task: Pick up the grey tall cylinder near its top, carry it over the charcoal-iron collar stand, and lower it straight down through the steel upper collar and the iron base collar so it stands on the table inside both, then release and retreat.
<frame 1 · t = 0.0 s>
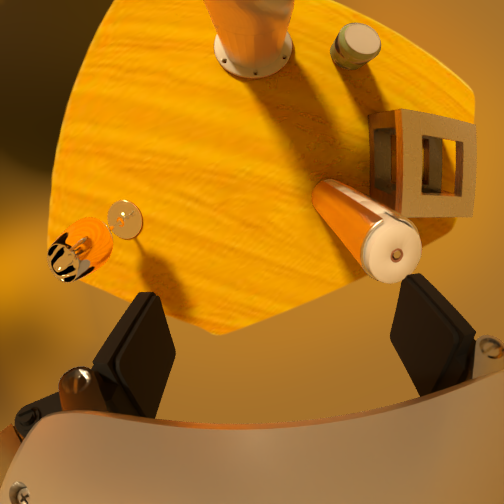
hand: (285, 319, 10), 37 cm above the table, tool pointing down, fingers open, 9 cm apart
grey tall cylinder: (329, 197, 45), on the table
collar stand: (405, 159, 41), on the table
wineglass: (125, 219, 47), on the table
beverage can: (342, 58, 35), on the table
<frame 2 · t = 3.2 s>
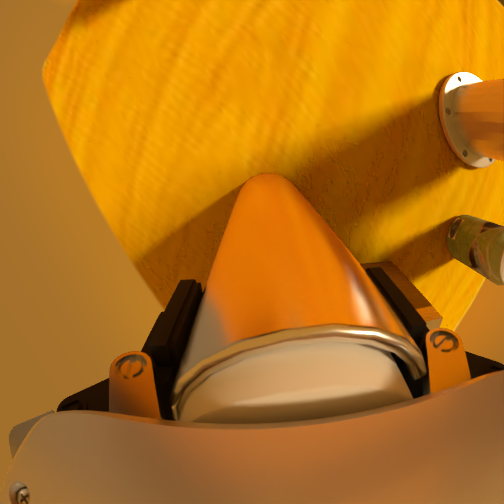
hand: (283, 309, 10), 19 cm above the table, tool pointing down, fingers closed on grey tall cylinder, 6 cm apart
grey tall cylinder: (268, 203, 28), on the table, touching gripper
collar stand: (329, 319, 33), on the table
beverage can: (456, 230, 28), on the table
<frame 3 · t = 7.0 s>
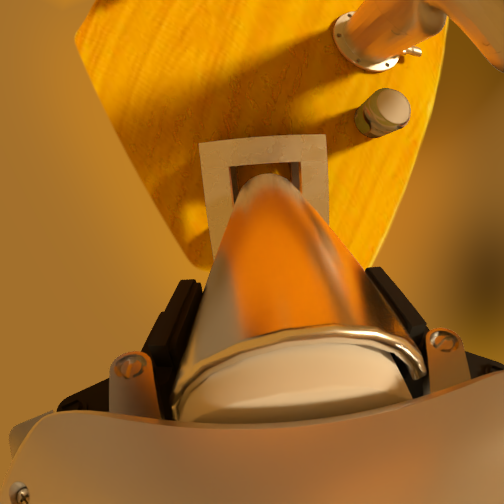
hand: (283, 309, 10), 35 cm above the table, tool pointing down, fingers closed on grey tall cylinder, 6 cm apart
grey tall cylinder: (268, 204, 28), point 17 cm above the table, touching gripper
collar stand: (264, 184, 43), on the table
beverage can: (366, 117, 39), on the table
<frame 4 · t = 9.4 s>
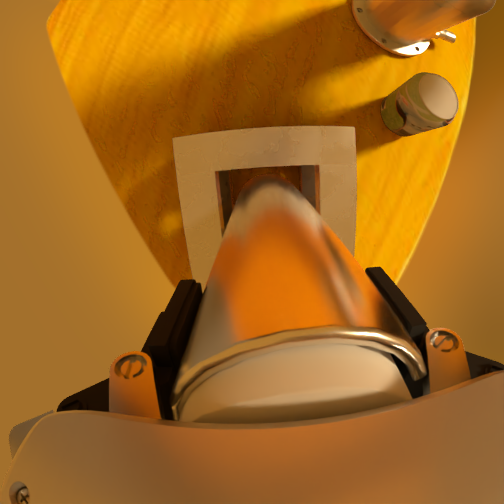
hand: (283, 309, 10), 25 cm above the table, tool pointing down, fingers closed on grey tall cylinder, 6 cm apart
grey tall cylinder: (268, 204, 28), point 6 cm above the table, touching gripper
collar stand: (266, 192, 34), on the table
beverage can: (393, 111, 29), on the table
when the fingers open (20 cm above the table, at t = 11.3 s): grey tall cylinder drops 1 cm, resting in collar stand.
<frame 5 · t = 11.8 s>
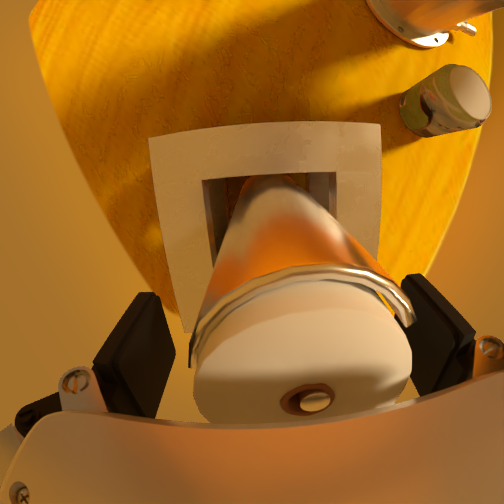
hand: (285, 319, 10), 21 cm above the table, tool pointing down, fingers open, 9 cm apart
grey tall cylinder: (270, 198, 29), resting in collar stand
collar stand: (267, 201, 29), on the table
beverage can: (412, 108, 24), on the table
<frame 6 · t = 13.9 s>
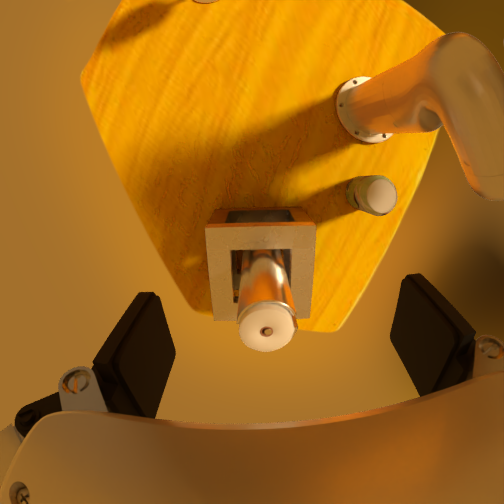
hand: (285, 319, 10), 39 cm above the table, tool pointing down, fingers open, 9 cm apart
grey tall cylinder: (261, 246, 50), resting in collar stand
collar stand: (259, 247, 50), on the table
beverage can: (356, 188, 46), on the table
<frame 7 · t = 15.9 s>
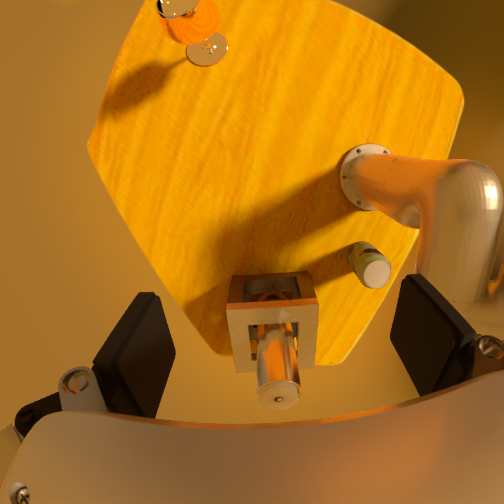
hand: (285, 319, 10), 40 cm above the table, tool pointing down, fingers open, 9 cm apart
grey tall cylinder: (272, 303, 57), resting in collar stand
collar stand: (271, 305, 57), on the table
wineglass: (207, 48, 38), on the table
beverage can: (357, 251, 52), on the table
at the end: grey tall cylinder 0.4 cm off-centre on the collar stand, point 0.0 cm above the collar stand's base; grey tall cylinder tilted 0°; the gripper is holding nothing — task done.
